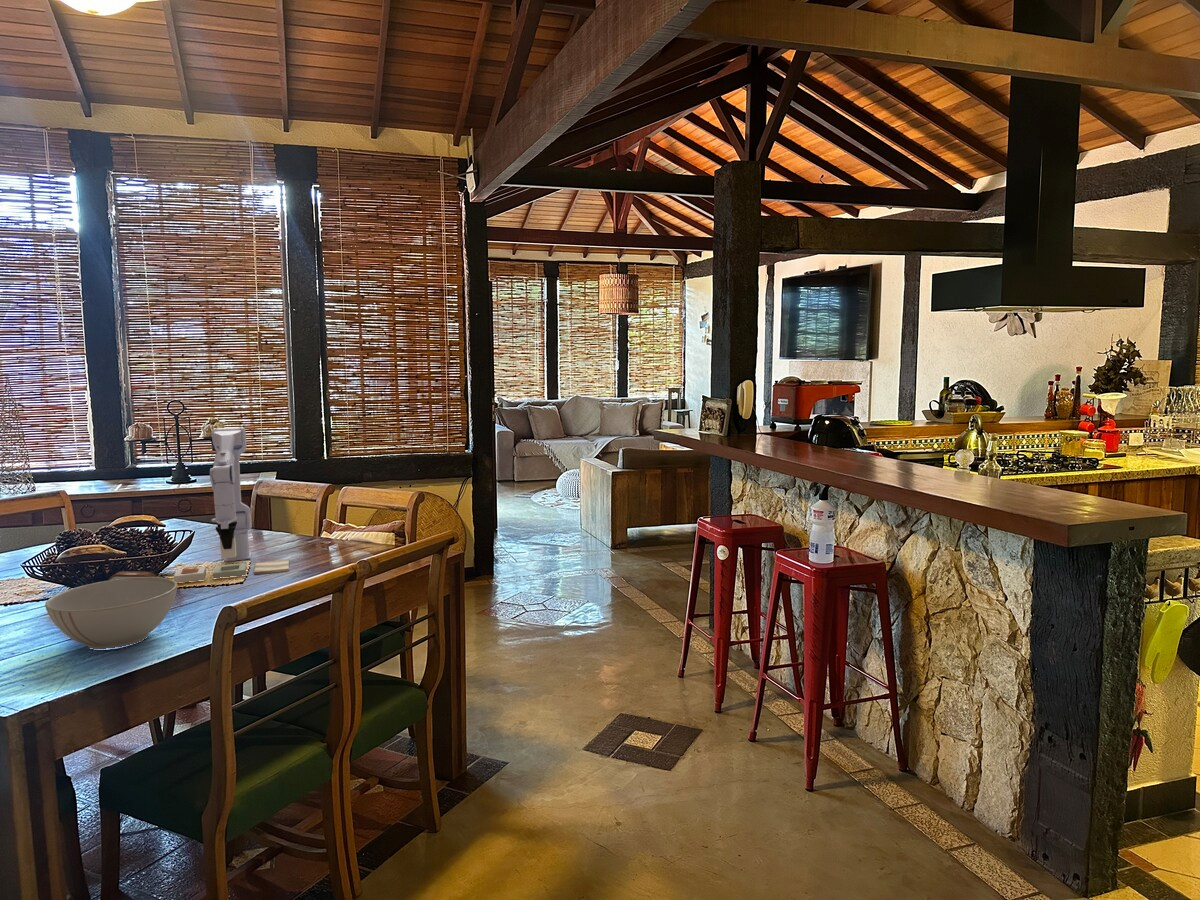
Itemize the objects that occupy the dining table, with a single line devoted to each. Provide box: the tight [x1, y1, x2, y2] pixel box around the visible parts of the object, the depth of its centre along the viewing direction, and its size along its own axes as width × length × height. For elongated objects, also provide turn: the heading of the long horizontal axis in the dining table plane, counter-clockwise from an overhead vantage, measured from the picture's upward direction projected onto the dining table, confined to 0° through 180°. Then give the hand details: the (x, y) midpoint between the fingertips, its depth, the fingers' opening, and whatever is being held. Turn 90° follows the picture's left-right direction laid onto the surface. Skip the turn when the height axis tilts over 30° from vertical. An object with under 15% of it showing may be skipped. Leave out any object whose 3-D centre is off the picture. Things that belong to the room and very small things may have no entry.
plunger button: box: [181, 566, 198, 574], centre depth 242 cm, size 4×4×3 cm
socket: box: [212, 562, 248, 579], centre depth 247 cm, size 9×9×2 cm
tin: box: [107, 570, 158, 581], centre depth 221 cm, size 15×3×8 cm, turn 84°
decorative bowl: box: [44, 576, 178, 649], centre depth 189 cm, size 27×27×12 cm
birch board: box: [253, 559, 290, 576], centre depth 253 cm, size 12×10×1 cm
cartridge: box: [219, 532, 236, 560], centre depth 246 cm, size 4×4×7 cm
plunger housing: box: [173, 566, 207, 583], centre depth 242 cm, size 8×8×2 cm
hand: (228, 547), depth 246 cm, fingers closed on cartridge, 4 cm apart
